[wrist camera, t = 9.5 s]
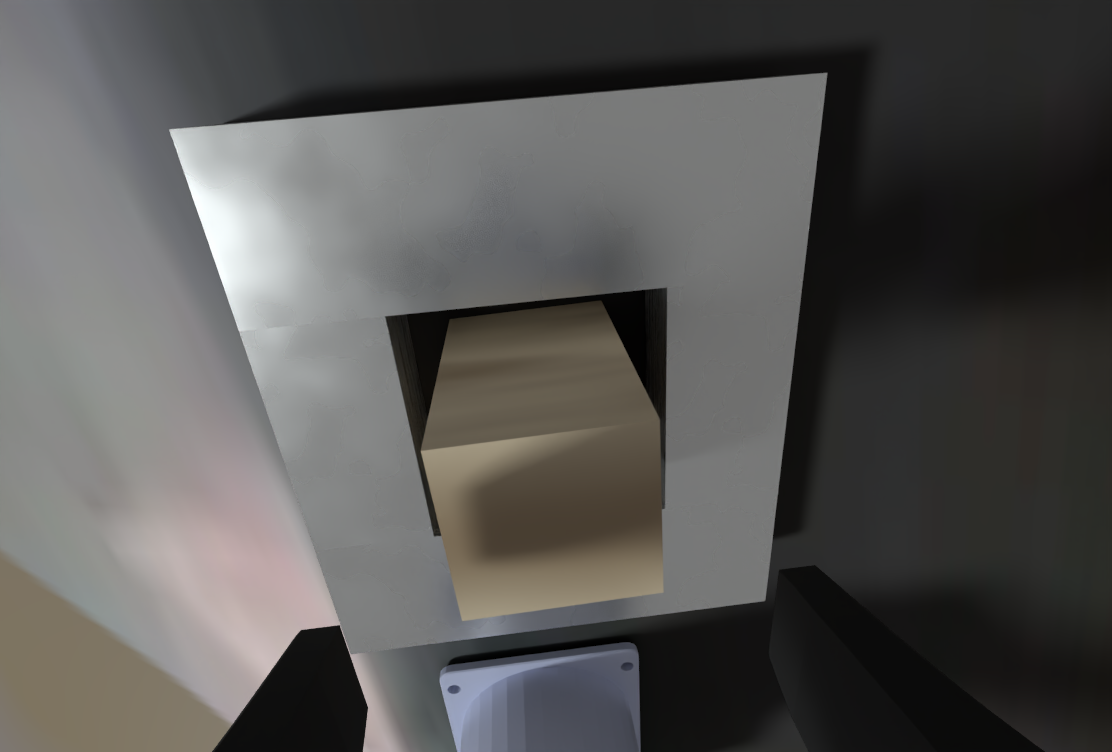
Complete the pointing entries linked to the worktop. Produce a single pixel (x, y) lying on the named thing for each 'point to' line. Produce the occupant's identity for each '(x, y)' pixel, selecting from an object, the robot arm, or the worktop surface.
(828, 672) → the robot arm
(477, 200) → the socket plate
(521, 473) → the birch block
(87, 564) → the worktop surface
